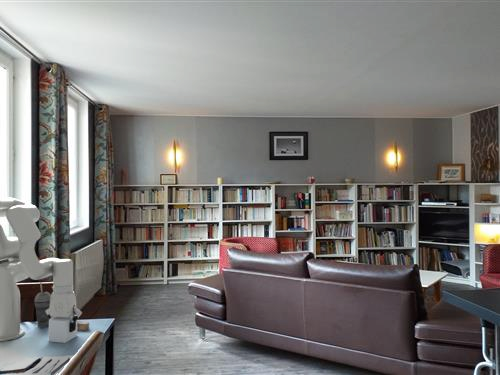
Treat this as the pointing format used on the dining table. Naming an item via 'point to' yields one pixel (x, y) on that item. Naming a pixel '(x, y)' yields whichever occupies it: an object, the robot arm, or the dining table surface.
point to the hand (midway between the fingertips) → (63, 330)
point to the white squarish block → (60, 330)
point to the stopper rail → (82, 326)
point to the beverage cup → (42, 307)
